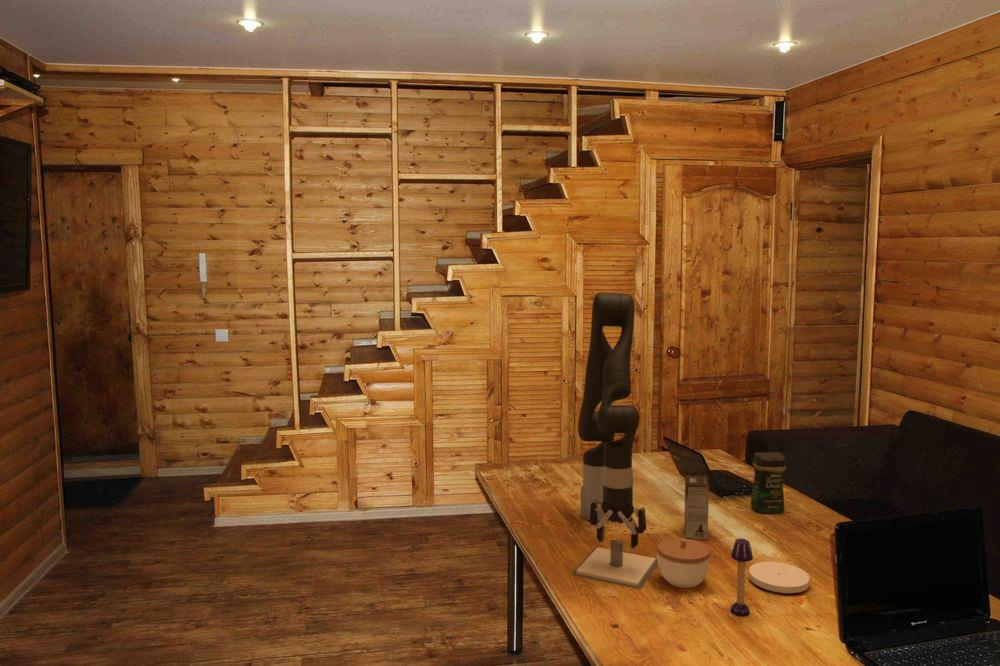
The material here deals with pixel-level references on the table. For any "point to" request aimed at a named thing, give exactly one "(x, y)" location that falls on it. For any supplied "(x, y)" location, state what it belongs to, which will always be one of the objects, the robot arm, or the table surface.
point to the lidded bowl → (683, 561)
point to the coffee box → (696, 506)
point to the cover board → (616, 573)
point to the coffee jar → (768, 482)
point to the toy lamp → (741, 575)
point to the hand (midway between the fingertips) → (617, 544)
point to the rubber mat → (617, 582)
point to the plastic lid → (779, 577)
